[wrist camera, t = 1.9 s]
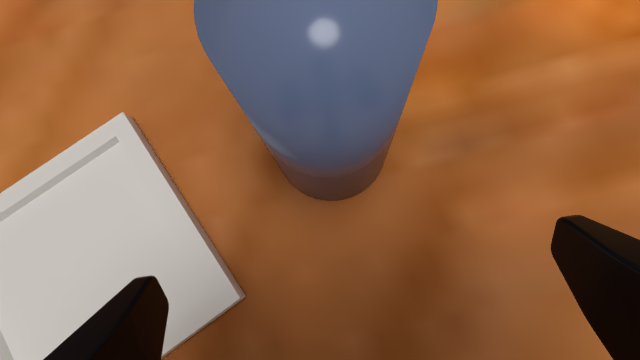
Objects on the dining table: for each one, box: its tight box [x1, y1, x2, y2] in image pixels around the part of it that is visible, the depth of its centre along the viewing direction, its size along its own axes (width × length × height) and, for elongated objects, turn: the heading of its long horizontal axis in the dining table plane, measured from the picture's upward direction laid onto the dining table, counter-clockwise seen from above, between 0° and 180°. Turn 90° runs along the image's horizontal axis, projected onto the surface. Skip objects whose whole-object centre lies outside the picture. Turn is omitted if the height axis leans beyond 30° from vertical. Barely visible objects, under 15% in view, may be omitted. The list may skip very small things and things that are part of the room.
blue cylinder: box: [194, 0, 438, 201], centre depth 16 cm, size 6×6×13 cm
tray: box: [0, 112, 246, 360], centre depth 21 cm, size 13×13×1 cm
